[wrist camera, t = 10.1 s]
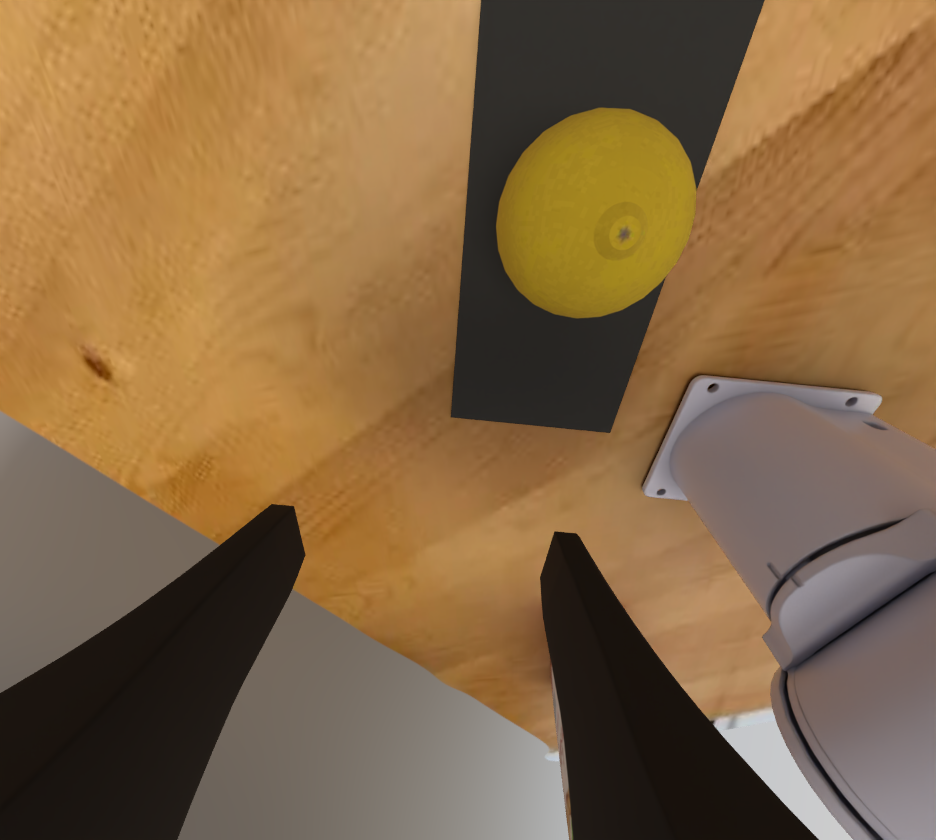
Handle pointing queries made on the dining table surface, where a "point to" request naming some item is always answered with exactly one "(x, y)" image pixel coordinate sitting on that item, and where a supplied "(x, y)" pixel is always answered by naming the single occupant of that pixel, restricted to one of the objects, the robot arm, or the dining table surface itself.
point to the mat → (518, 125)
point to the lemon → (596, 212)
